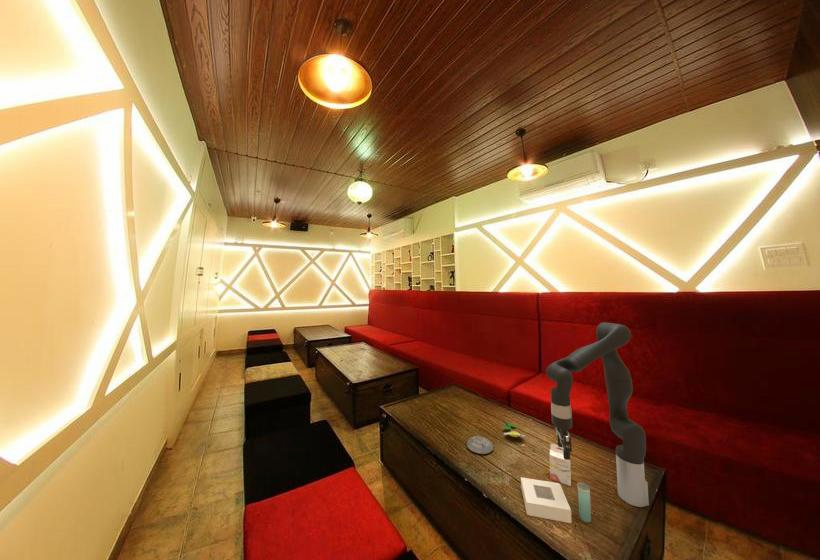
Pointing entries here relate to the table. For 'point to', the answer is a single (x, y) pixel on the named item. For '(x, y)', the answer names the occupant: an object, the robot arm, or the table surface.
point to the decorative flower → (512, 433)
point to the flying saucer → (479, 445)
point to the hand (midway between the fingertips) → (563, 452)
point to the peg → (584, 502)
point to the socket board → (545, 500)
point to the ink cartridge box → (559, 466)
